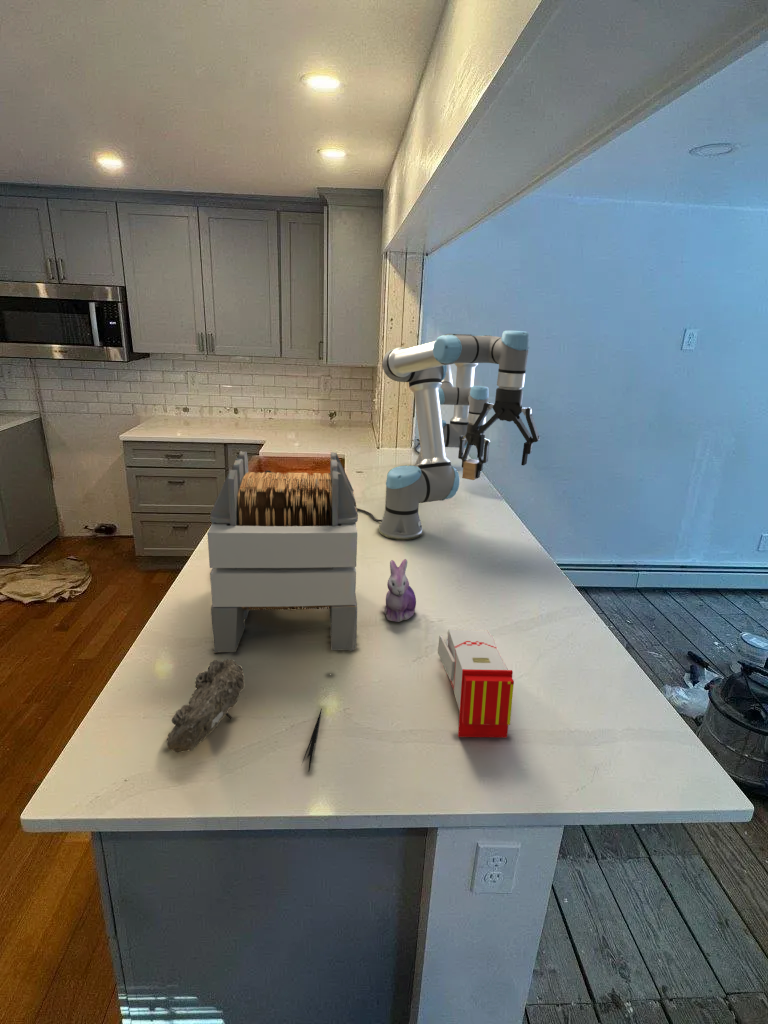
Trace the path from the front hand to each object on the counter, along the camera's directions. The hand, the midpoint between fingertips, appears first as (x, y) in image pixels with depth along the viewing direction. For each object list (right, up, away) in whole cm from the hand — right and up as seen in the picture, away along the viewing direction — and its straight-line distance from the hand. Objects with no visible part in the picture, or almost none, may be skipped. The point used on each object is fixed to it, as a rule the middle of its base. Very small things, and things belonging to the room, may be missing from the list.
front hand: (501, 460), depth 168 cm
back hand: (+3, 0, +79) cm, 79 cm away
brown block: (+3, 0, +79) cm, 79 cm away
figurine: (-31, -42, -20) cm, 56 cm away
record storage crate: (-59, -42, -23) cm, 76 cm away
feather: (-47, -55, -59) cm, 94 cm away
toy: (-17, -53, -49) cm, 74 cm away
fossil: (-68, -54, -60) cm, 105 cm away
